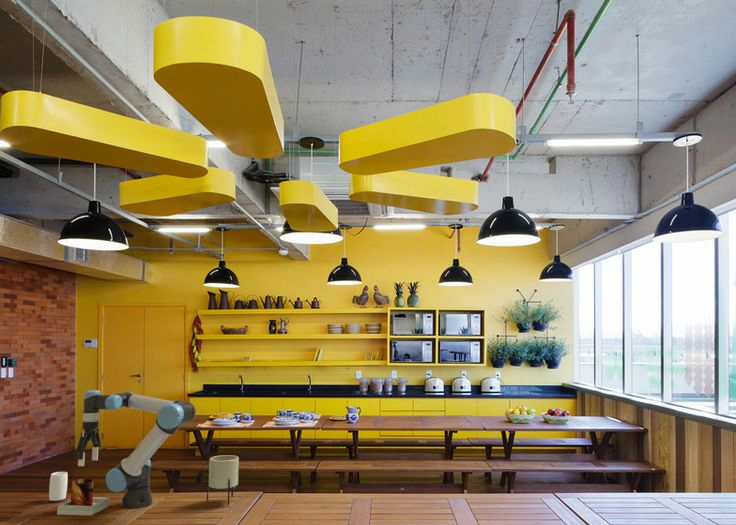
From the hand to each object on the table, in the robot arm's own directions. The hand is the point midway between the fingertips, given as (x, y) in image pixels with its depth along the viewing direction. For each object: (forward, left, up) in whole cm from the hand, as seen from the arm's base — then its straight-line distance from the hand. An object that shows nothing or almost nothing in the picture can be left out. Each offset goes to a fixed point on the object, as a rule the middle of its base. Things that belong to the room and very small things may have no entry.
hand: (88, 463), depth 291 cm
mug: (-1, +2, -21) cm, 21 cm away
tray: (-1, +2, -23) cm, 23 cm away
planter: (-67, -17, -23) cm, 72 cm away
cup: (+22, -12, -23) cm, 34 cm away
